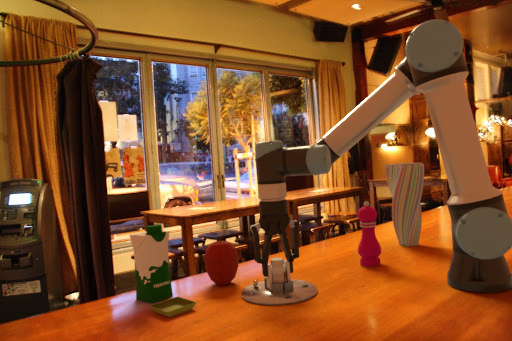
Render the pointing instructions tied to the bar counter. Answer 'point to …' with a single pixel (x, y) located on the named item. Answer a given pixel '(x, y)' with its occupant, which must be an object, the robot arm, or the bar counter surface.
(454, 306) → the bar counter surface
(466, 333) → the bar counter surface
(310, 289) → the flange plate
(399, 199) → the vase
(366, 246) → the pepper mill
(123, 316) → the bar counter surface
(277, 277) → the pill bottle
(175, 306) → the olive square tray
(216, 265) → the apple
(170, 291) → the milk carton
